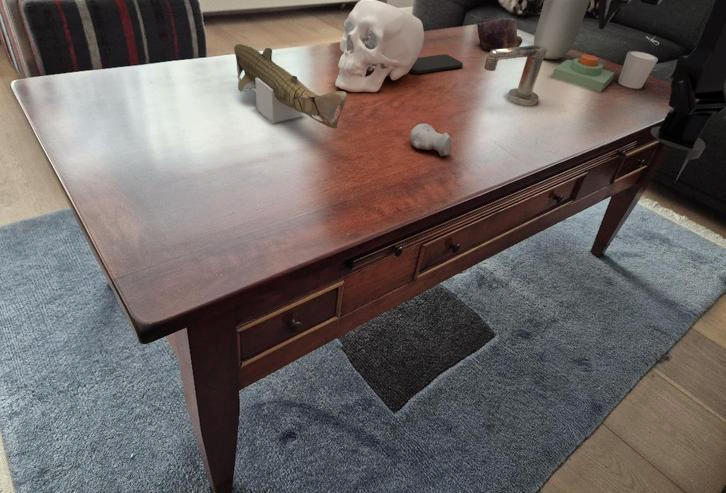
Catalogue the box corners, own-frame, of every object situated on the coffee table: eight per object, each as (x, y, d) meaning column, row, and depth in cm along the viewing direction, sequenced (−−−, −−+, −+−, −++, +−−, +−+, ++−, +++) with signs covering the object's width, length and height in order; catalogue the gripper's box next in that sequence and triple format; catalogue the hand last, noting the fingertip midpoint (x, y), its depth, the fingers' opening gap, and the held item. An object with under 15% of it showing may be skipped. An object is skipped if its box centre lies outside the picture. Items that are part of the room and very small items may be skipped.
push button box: (611, 81, 119) (618, 65, 116) (600, 92, 113) (607, 75, 110) (564, 67, 124) (570, 51, 121) (551, 77, 117) (557, 60, 115)
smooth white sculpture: (403, 148, 85) (424, 134, 87) (434, 168, 80) (456, 152, 82) (400, 128, 82) (423, 114, 83) (433, 147, 77) (456, 132, 79)
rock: (487, 46, 136) (465, 50, 130) (492, 13, 132) (469, 16, 126) (523, 52, 129) (501, 57, 123) (529, 17, 124) (507, 20, 118)
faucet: (541, 100, 105) (555, 57, 100) (530, 108, 101) (544, 64, 95) (514, 91, 108) (526, 49, 102) (502, 98, 104) (515, 55, 98)
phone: (397, 60, 114) (446, 53, 121) (396, 63, 115) (445, 57, 121) (415, 71, 109) (465, 64, 116) (414, 75, 110) (464, 67, 117)
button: (597, 65, 116) (600, 57, 115) (593, 68, 114) (596, 61, 113) (581, 60, 118) (584, 53, 117) (576, 64, 115) (579, 56, 114)
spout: (533, 59, 101) (539, 41, 99) (545, 65, 99) (551, 47, 97) (480, 66, 95) (484, 47, 93) (491, 72, 93) (496, 53, 91)
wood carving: (317, 168, 75) (319, 100, 68) (220, 87, 95) (214, 27, 88) (362, 154, 80) (369, 89, 73) (261, 79, 100) (258, 23, 93)
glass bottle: (544, 49, 134) (582, -69, 117) (574, 62, 128) (619, -61, 110) (521, 53, 130) (557, -69, 112) (551, 66, 124) (594, -61, 106)
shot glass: (623, 77, 122) (635, 49, 118) (649, 86, 119) (663, 57, 114) (610, 81, 119) (622, 53, 114) (636, 91, 115) (650, 62, 110)
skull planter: (307, 72, 100) (343, -22, 94) (362, 96, 116) (396, 17, 111) (353, 95, 93) (395, -5, 88) (405, 117, 109) (443, 34, 104)
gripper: (685, -45, 102) (650, 32, 112) (597, -60, 110) (572, 13, 120) (676, -40, 95) (640, 42, 105) (583, -57, 102) (557, 21, 112)
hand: (601, 28), depth 111 cm, fingers closed
